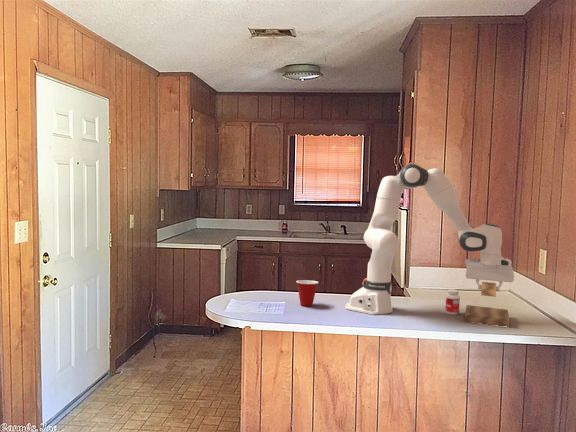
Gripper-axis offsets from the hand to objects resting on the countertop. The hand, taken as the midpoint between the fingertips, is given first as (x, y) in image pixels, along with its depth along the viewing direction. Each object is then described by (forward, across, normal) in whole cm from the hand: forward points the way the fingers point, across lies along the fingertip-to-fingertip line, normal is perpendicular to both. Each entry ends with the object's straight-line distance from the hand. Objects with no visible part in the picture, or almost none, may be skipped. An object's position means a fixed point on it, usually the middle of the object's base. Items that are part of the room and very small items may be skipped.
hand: (488, 290), depth 220 cm
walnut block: (+14, 0, 0) cm, 14 cm away
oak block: (+2, 0, 0) cm, 2 cm away
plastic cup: (+13, -81, -16) cm, 84 cm away
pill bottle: (+14, -15, +3) cm, 21 cm away
